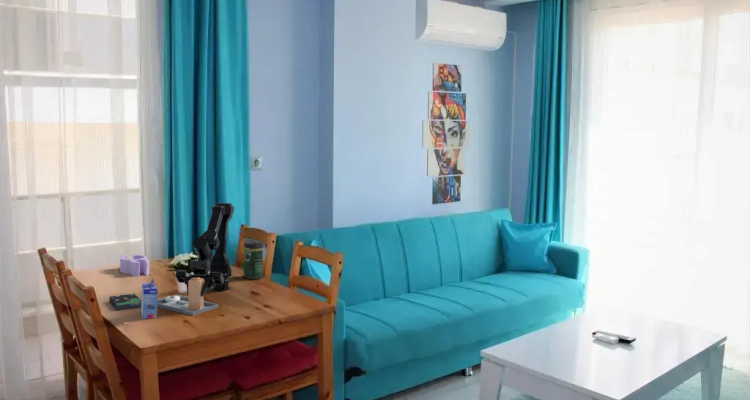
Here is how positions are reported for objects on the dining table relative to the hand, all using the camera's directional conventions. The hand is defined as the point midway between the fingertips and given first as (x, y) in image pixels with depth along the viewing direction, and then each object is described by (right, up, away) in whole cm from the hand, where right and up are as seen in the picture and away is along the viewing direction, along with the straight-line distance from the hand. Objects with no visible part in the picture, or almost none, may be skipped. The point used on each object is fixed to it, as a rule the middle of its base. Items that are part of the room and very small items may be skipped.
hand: (194, 295), depth 257 cm
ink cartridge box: (-16, -7, -7) cm, 19 cm away
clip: (-47, +2, +63) cm, 78 cm away
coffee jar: (+12, 0, +59) cm, 61 cm away
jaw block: (0, -6, +2) cm, 6 cm away
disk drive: (-30, -5, +8) cm, 32 cm away
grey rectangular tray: (-6, -6, +5) cm, 10 cm away
